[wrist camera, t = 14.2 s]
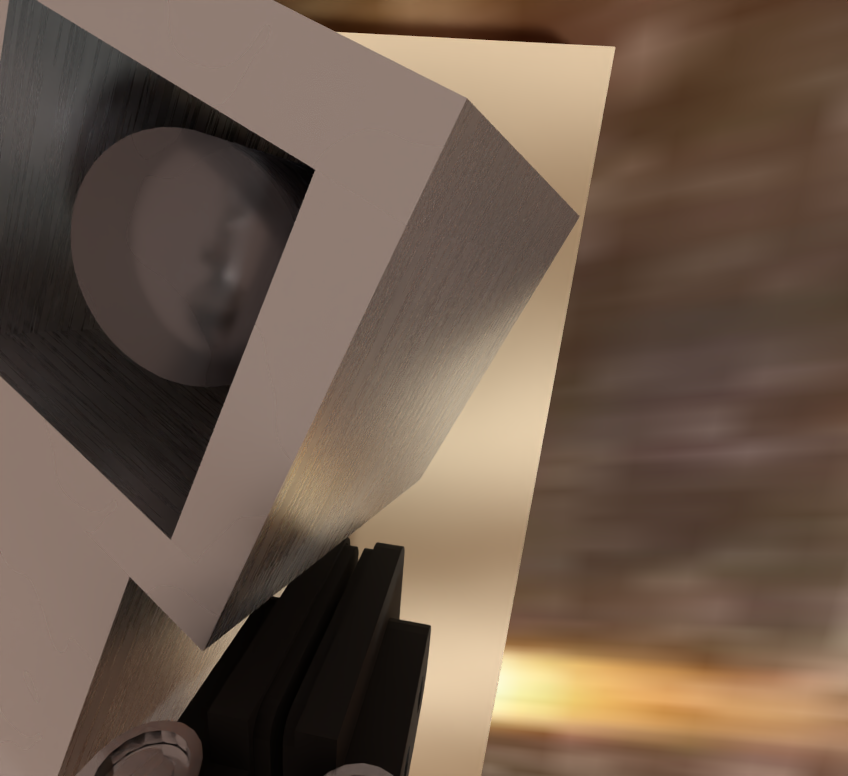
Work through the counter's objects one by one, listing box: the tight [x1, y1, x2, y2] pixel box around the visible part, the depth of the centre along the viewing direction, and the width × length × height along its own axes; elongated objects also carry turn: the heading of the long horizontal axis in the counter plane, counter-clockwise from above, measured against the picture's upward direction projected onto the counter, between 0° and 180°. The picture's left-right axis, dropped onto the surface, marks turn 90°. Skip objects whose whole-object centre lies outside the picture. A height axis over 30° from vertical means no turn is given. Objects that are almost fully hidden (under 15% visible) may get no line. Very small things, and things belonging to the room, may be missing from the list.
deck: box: [337, 32, 615, 776], centre depth 13 cm, size 19×16×1 cm
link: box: [0, 0, 580, 776], centre depth 9 cm, size 17×5×5 cm, turn 152°
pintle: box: [70, 127, 315, 387], centre depth 7 cm, size 2×2×6 cm
